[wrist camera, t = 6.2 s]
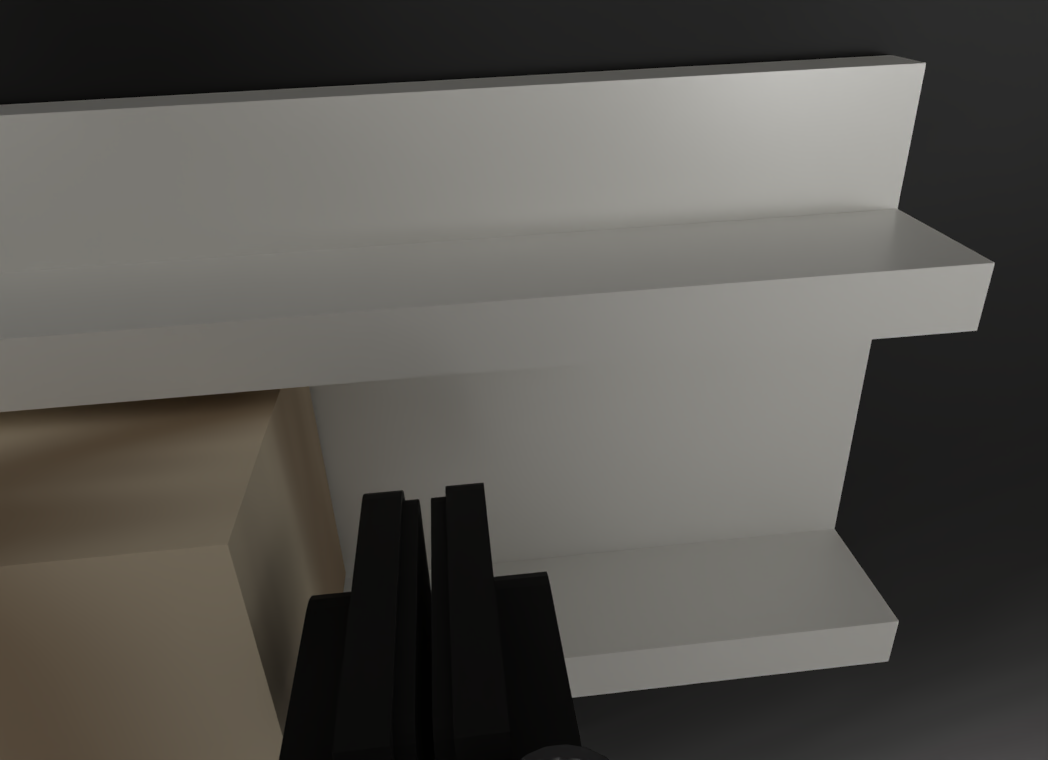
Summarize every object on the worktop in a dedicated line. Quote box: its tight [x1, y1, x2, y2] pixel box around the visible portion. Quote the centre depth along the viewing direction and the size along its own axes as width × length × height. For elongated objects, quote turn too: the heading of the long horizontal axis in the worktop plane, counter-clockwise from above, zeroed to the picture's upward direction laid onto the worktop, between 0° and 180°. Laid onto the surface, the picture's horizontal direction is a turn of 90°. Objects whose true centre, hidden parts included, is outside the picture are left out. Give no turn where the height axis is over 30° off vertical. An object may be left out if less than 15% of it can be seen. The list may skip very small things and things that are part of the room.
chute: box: [0, 55, 995, 698], centre depth 13 cm, size 17×12×4 cm
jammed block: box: [0, 386, 346, 760], centre depth 11 cm, size 5×5×5 cm
